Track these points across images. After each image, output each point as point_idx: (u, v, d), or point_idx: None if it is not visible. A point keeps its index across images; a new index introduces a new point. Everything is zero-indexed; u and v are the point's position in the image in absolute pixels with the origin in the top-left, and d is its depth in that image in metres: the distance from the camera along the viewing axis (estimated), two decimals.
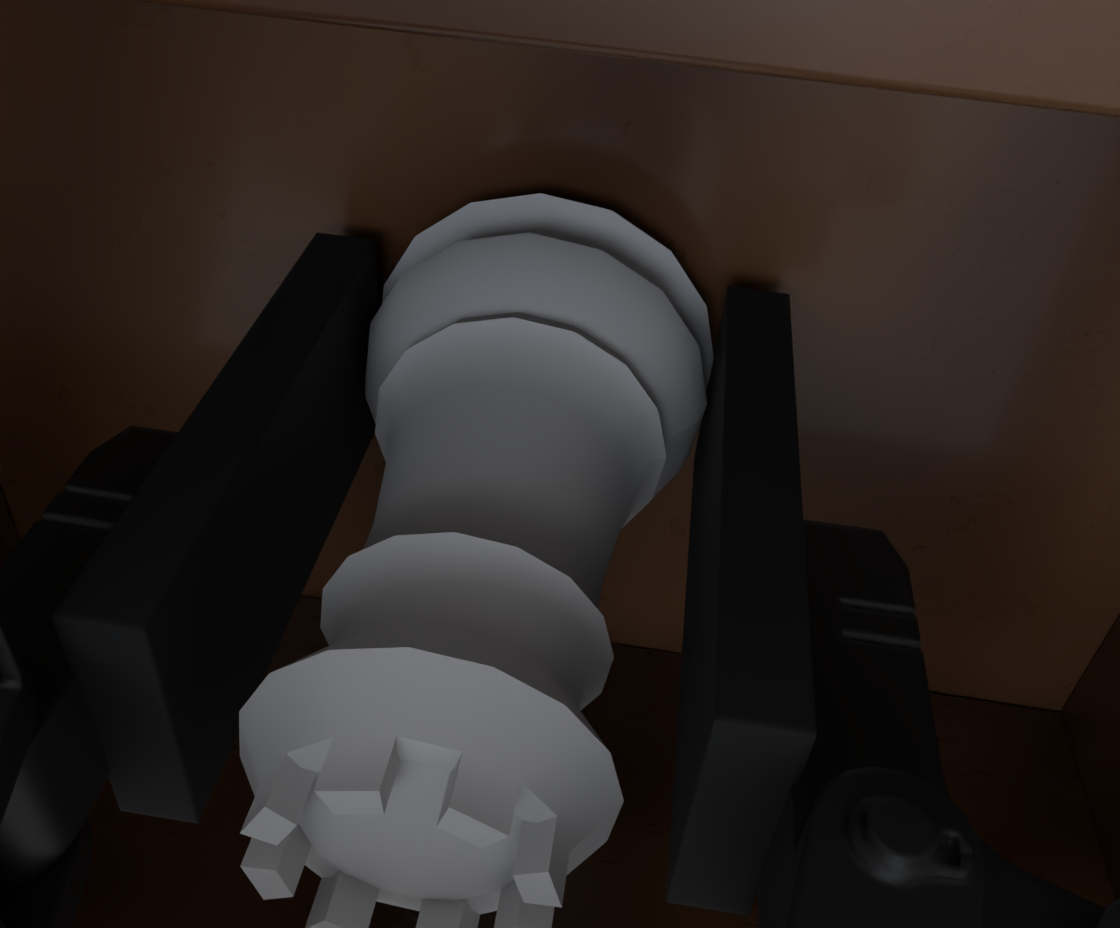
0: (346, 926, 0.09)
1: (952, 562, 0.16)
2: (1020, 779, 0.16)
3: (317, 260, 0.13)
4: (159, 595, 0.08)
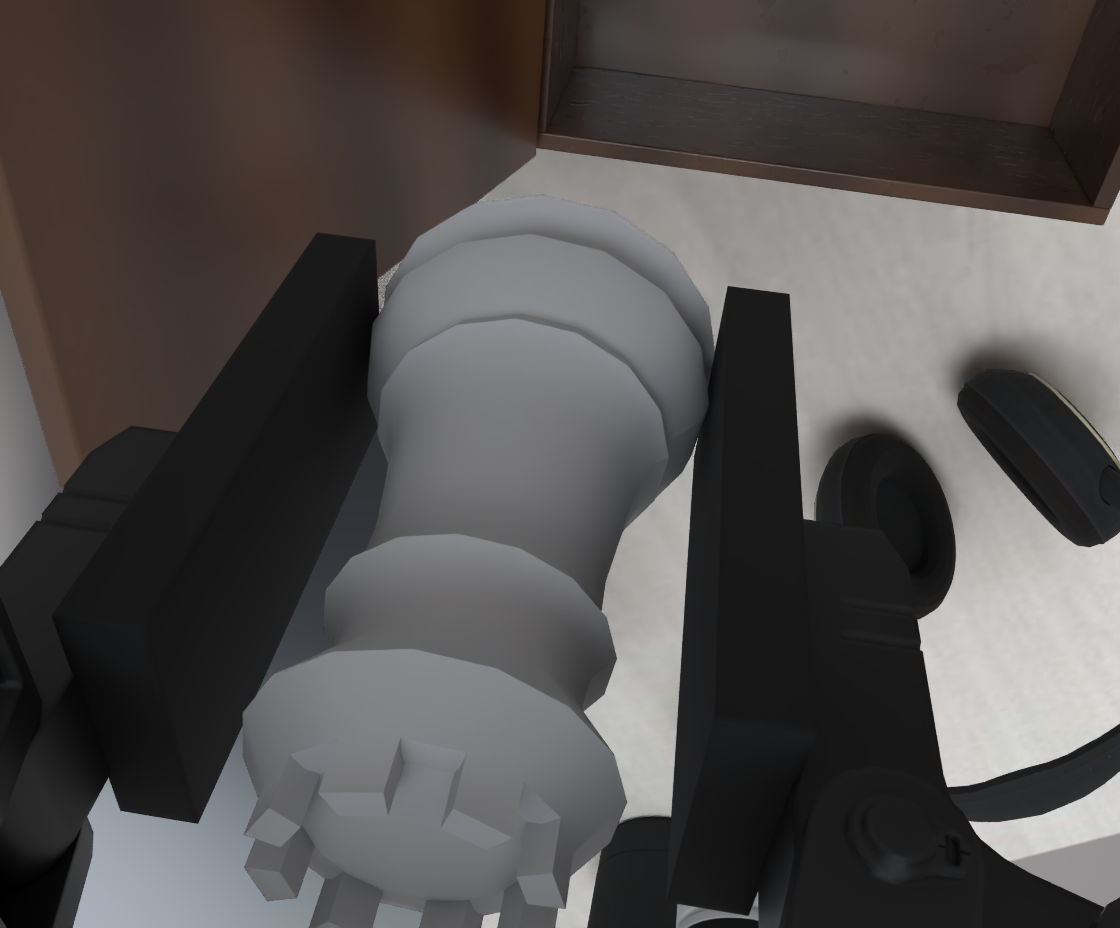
0: (350, 927, 0.09)
1: (1002, 38, 0.38)
2: (1029, 138, 0.38)
3: (316, 260, 0.13)
4: (160, 595, 0.08)
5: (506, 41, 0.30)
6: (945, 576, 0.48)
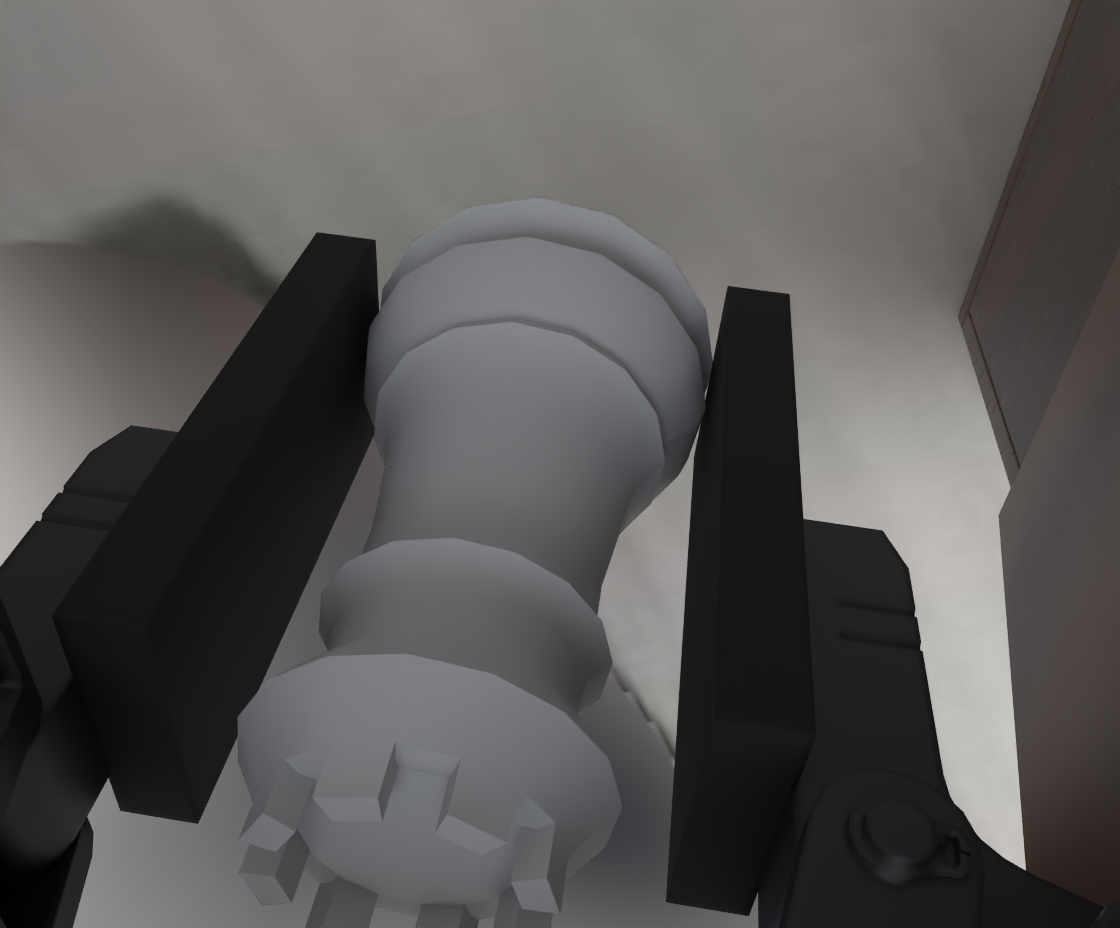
0: None
1: None
2: None
3: (316, 260, 0.13)
4: (160, 595, 0.08)
5: None
6: None
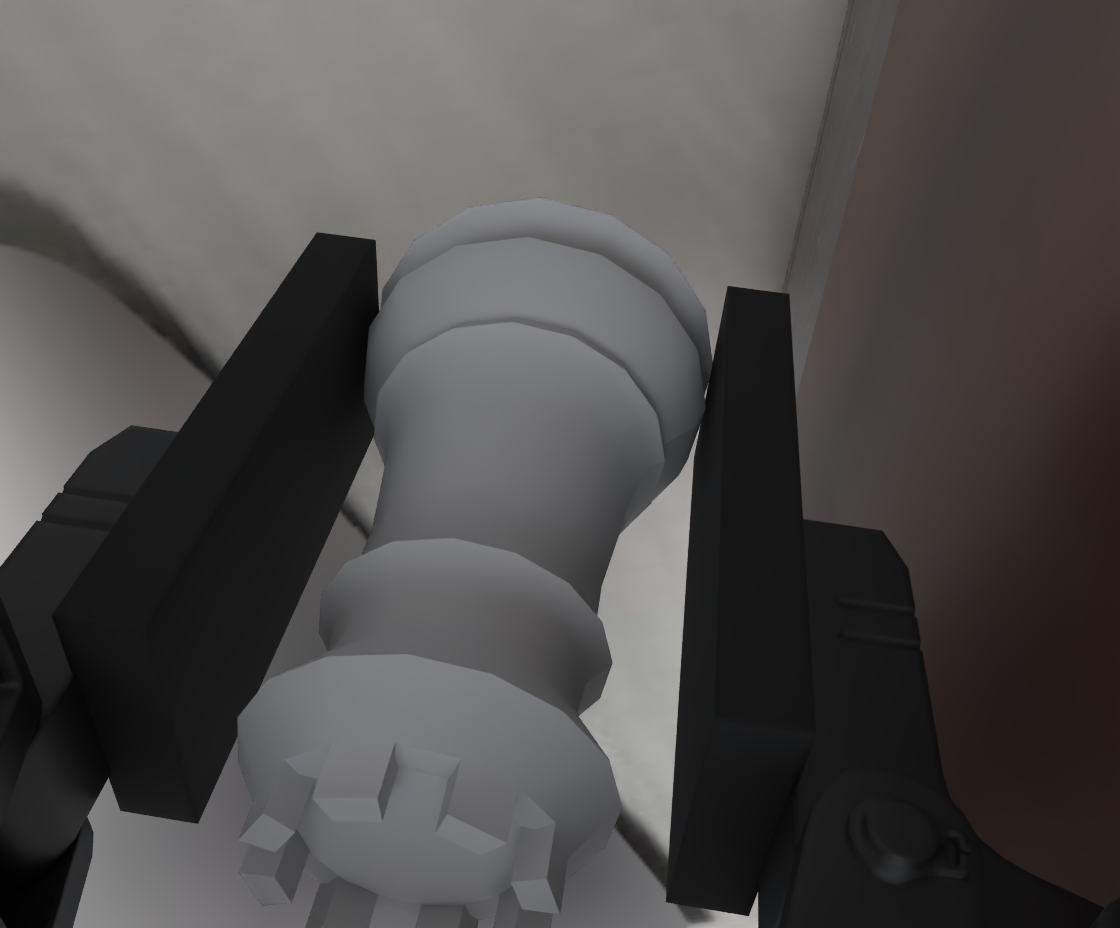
0: None
1: None
2: None
3: (316, 260, 0.13)
4: (160, 595, 0.08)
5: None
6: None
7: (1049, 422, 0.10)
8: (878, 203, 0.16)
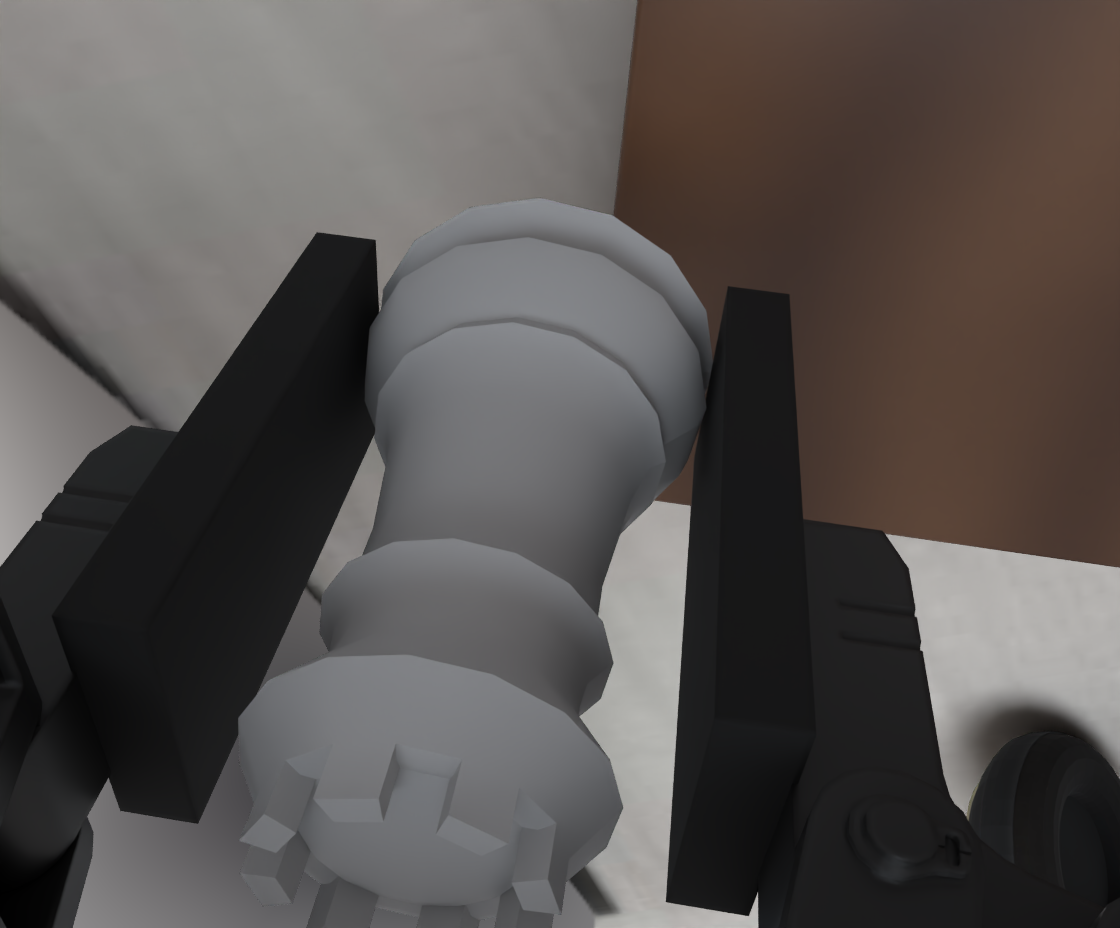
0: None
1: None
2: None
3: (316, 260, 0.13)
4: (159, 595, 0.08)
5: None
6: None
7: None
8: (722, 162, 0.17)
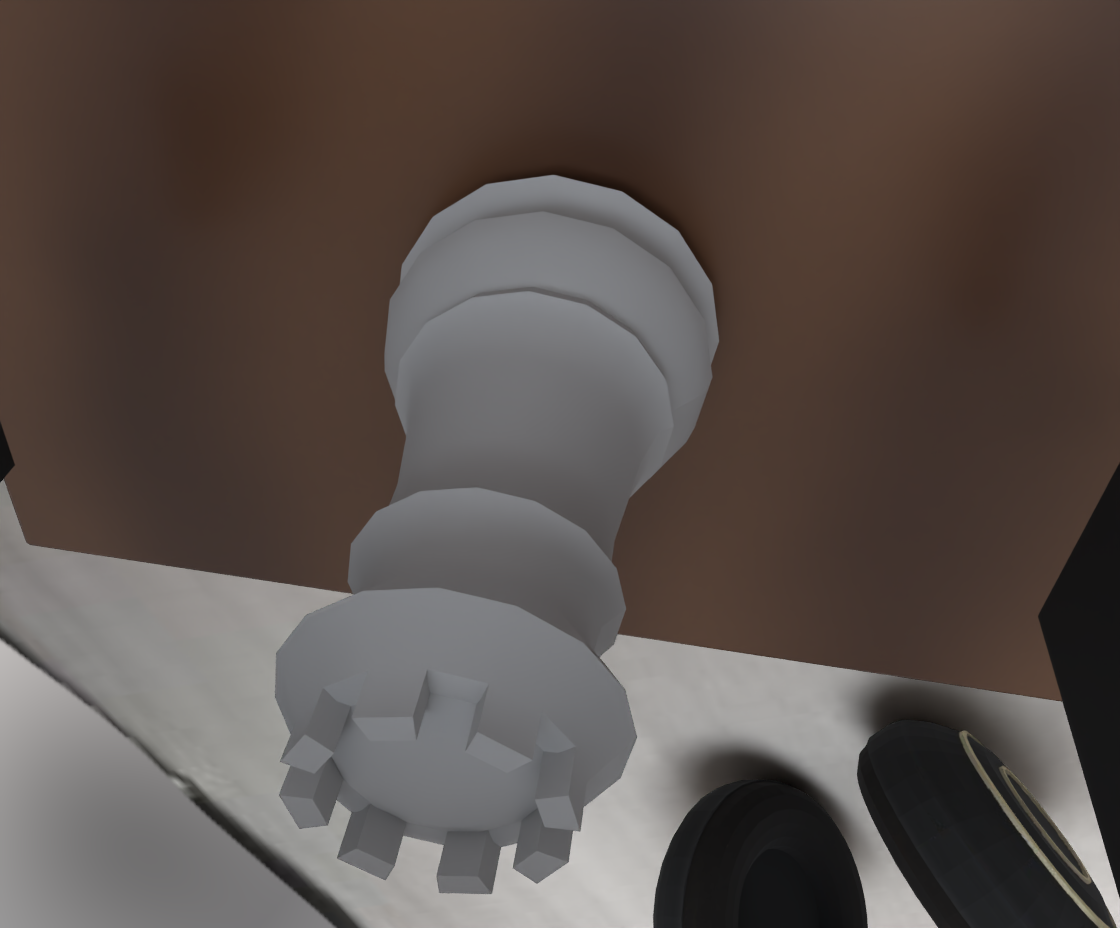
0: (375, 855, 0.09)
1: None
2: None
3: None
4: None
5: None
6: None
7: (475, 180, 0.14)
8: (4, 183, 0.15)
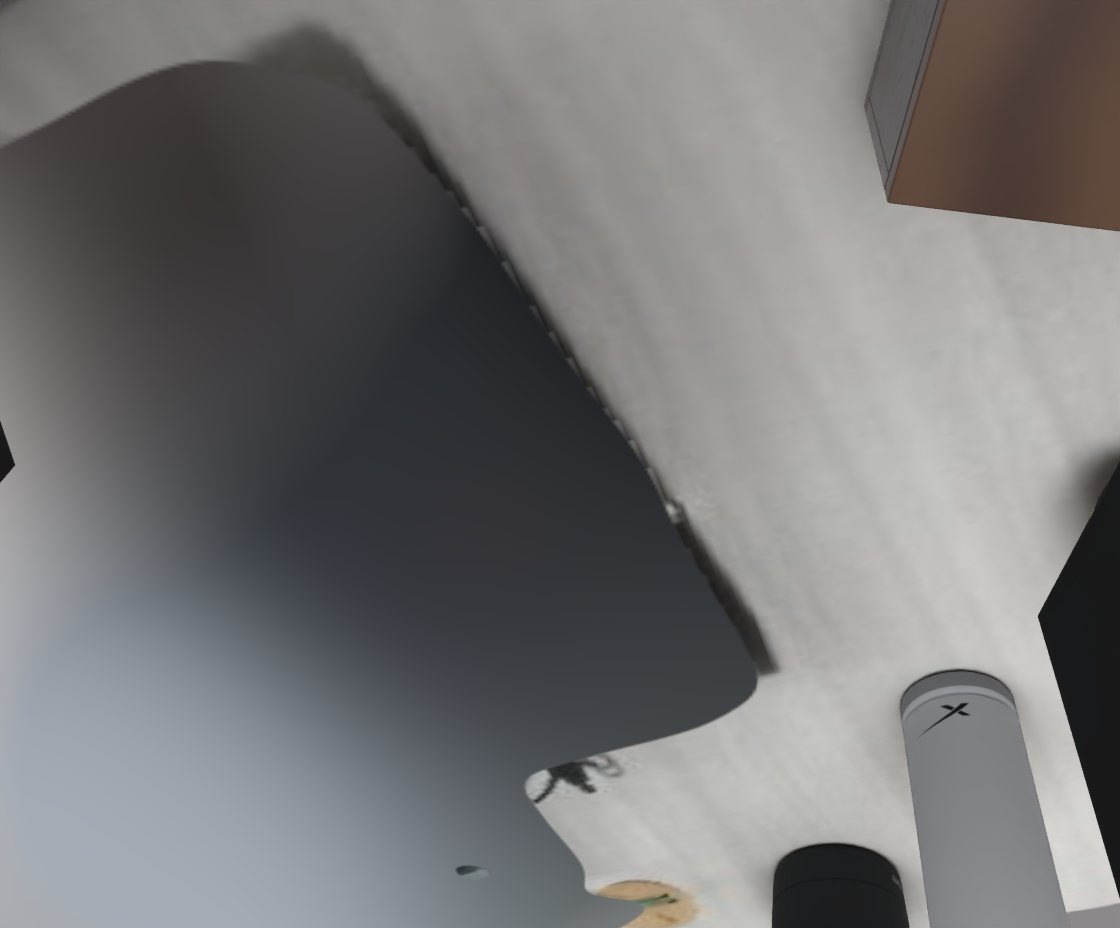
0: None
1: None
2: None
3: None
4: None
5: None
6: None
7: None
8: None
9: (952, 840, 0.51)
